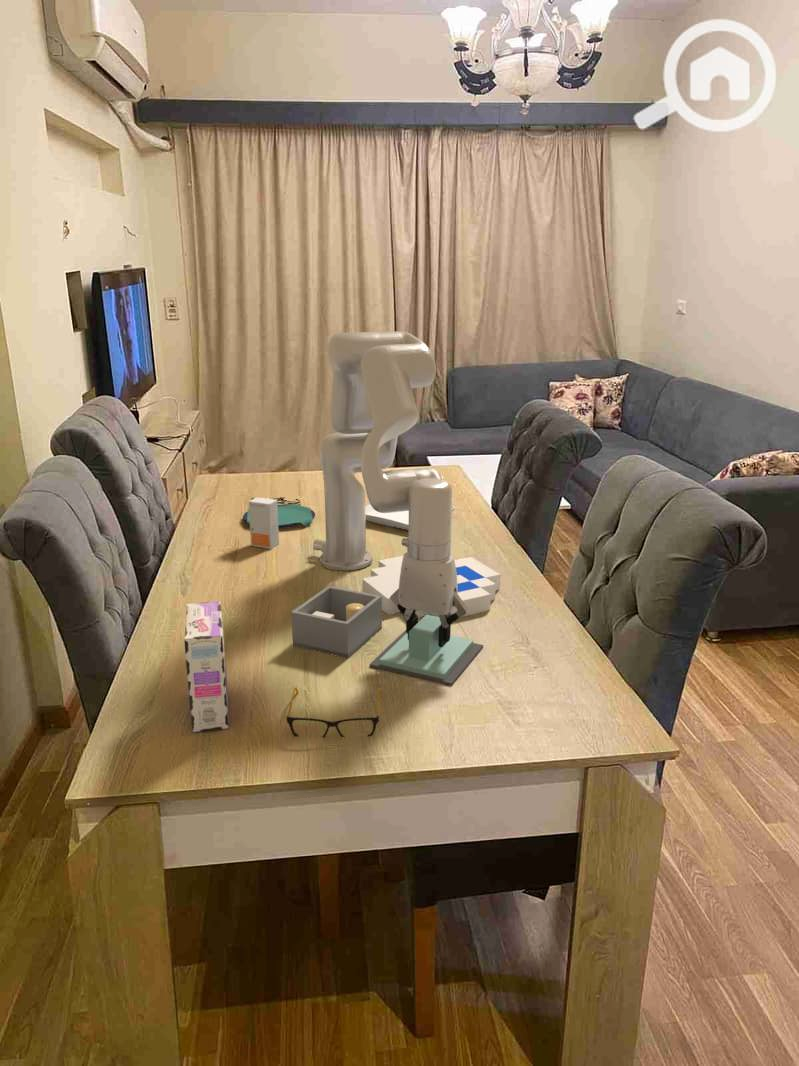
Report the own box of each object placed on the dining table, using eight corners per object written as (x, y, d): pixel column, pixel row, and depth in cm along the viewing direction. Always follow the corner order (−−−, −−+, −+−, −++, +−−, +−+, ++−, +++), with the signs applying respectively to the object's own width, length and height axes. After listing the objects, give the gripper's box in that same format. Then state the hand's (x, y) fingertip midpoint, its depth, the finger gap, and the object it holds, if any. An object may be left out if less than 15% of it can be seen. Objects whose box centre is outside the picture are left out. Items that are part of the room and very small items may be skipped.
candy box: (229, 729, 129) (222, 635, 124) (191, 734, 128) (182, 639, 123) (228, 686, 142) (221, 599, 136) (193, 689, 141) (185, 601, 135)
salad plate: (457, 516, 232) (457, 505, 231) (417, 537, 215) (417, 525, 214) (394, 504, 243) (394, 493, 242) (352, 523, 226) (351, 511, 225)
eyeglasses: (286, 742, 127) (285, 719, 125) (297, 693, 140) (296, 673, 139) (378, 742, 127) (378, 719, 126) (380, 693, 140) (380, 673, 139)
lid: (379, 664, 148) (379, 634, 146) (412, 631, 161) (412, 603, 159) (444, 679, 143) (444, 648, 141) (473, 644, 156) (474, 615, 154)
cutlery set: (242, 534, 217) (242, 525, 216) (244, 502, 245) (244, 495, 244) (317, 531, 220) (317, 522, 219) (311, 500, 248) (311, 493, 248)
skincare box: (250, 546, 208) (247, 501, 204) (259, 541, 211) (256, 496, 207) (271, 549, 205) (268, 504, 201) (279, 544, 209) (277, 499, 205)
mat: (369, 666, 149) (369, 664, 148) (406, 631, 162) (406, 628, 162) (451, 685, 142) (451, 683, 142) (483, 647, 156) (483, 645, 156)
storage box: (292, 645, 156) (291, 612, 154) (329, 617, 168) (328, 585, 166) (348, 658, 151) (347, 624, 149) (381, 628, 163) (381, 596, 161)
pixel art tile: (452, 546, 197) (522, 587, 174) (452, 561, 199) (521, 604, 176) (346, 566, 185) (406, 613, 162) (347, 582, 186) (406, 631, 163)
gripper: (376, 548, 145) (377, 640, 151) (467, 563, 138) (464, 659, 144) (394, 535, 152) (394, 624, 158) (482, 549, 145) (478, 641, 151)
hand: (428, 639), depth 151 cm, fingers open, 5 cm apart
